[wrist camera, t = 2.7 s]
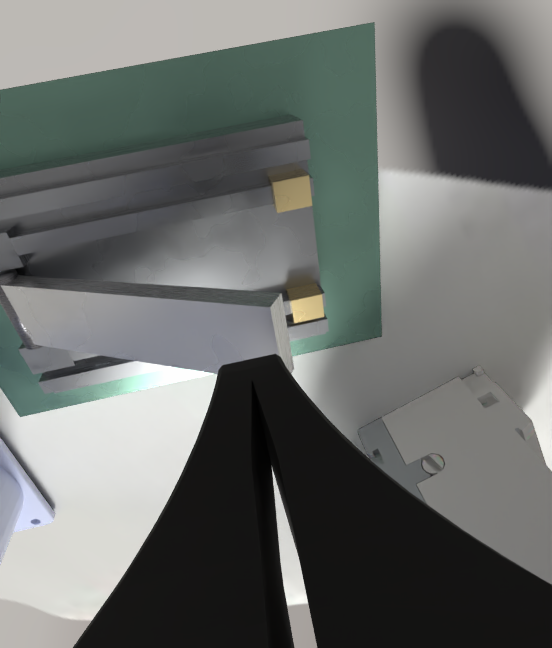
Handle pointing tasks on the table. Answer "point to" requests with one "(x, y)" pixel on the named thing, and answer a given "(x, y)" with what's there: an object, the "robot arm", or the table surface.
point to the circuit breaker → (472, 466)
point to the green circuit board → (196, 195)
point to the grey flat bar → (147, 321)
